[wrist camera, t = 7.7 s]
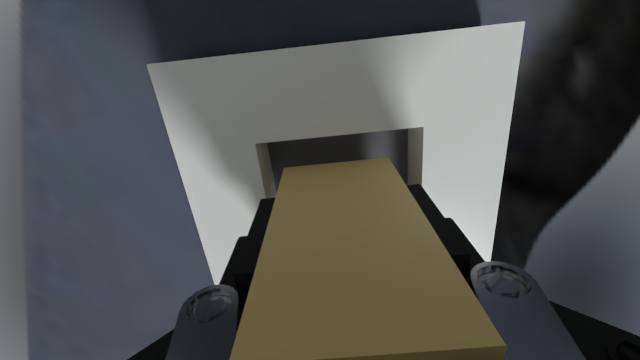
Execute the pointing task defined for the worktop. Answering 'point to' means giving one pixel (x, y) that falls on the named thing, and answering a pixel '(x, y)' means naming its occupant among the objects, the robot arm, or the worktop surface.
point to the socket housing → (344, 123)
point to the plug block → (358, 276)
